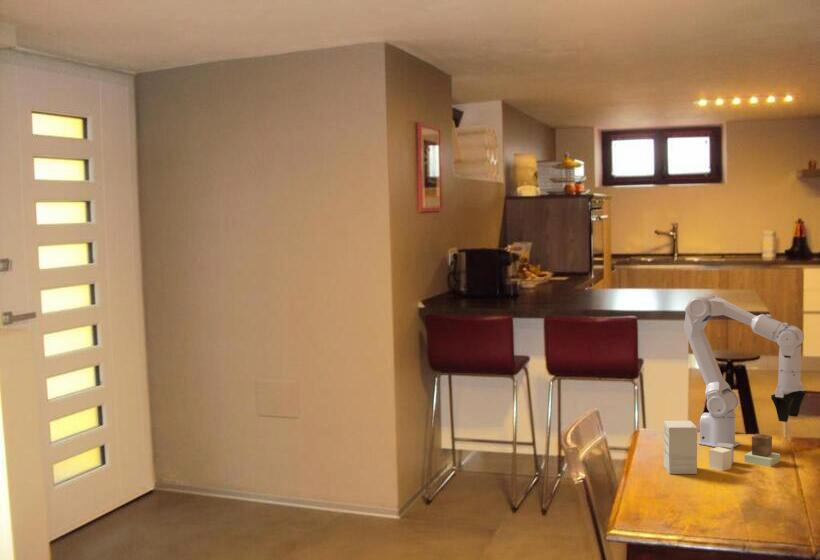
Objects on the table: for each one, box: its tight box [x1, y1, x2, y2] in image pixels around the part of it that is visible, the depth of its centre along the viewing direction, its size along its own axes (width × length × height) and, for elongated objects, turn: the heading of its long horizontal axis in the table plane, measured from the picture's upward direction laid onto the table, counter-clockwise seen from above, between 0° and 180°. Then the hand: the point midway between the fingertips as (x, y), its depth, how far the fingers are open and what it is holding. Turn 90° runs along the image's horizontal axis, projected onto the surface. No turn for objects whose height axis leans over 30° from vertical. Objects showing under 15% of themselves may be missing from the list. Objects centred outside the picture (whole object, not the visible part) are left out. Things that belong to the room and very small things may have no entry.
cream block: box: [708, 447, 732, 472], centre depth 230 cm, size 4×4×5 cm
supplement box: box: [663, 420, 698, 475], centre depth 228 cm, size 7×7×13 cm
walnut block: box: [751, 433, 773, 457], centre depth 235 cm, size 4×4×5 cm
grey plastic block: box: [715, 442, 735, 466], centre depth 234 cm, size 4×4×5 cm
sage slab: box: [743, 450, 781, 468], centre depth 235 cm, size 7×7×2 cm
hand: (788, 418), depth 239 cm, fingers open, 7 cm apart
